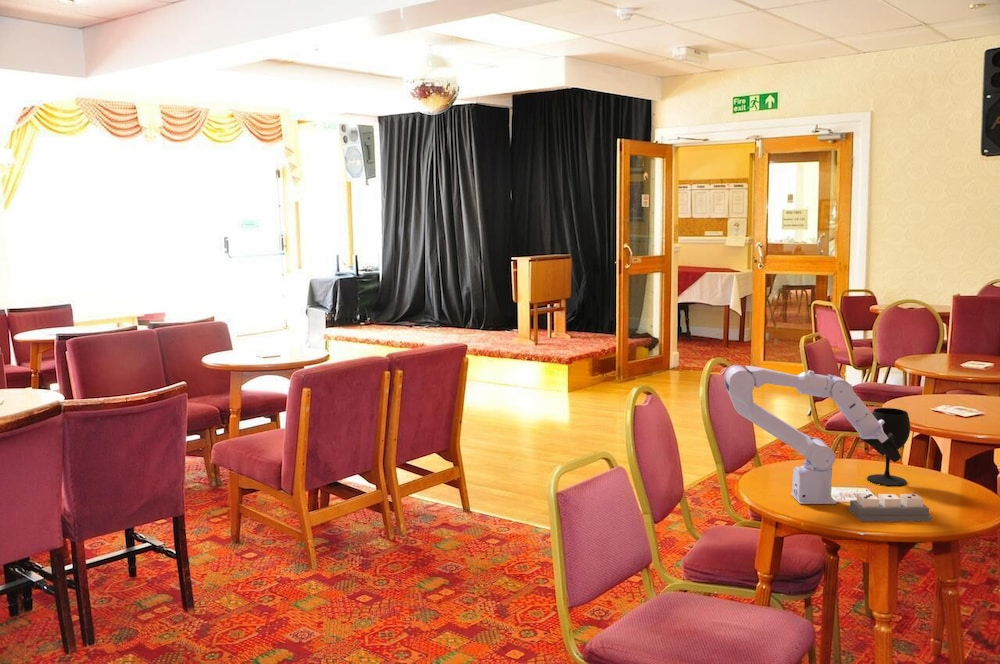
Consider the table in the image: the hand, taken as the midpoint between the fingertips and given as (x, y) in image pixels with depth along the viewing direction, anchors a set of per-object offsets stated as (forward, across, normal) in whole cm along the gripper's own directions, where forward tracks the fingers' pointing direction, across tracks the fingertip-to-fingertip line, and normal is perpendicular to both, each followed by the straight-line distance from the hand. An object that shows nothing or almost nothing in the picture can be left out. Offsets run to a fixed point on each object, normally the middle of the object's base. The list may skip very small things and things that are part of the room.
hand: (891, 456), depth 233 cm
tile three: (+2, -10, +14) cm, 17 cm away
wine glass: (+13, +18, +2) cm, 22 cm away
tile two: (+9, -10, +5) cm, 14 cm away
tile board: (+7, -10, +11) cm, 17 cm away
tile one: (+5, -10, +10) cm, 15 cm away
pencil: (+14, -3, +3) cm, 15 cm away
